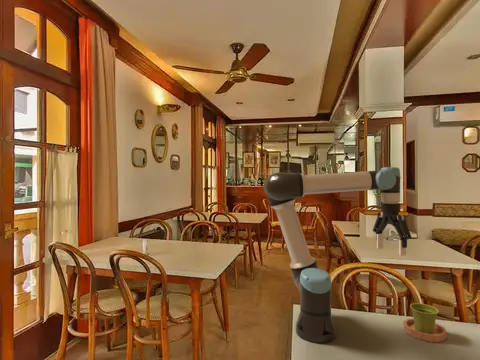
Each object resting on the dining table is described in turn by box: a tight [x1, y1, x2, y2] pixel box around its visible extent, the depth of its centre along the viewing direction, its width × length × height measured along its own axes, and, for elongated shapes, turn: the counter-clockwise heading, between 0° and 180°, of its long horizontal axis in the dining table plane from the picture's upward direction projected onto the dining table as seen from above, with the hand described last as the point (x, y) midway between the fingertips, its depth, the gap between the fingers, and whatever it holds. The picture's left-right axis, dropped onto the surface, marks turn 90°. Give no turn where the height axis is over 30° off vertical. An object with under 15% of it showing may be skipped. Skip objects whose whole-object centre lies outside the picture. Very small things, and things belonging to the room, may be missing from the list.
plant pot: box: [409, 303, 440, 334], centre depth 114 cm, size 9×9×9 cm
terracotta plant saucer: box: [402, 317, 448, 343], centre depth 114 cm, size 14×14×2 cm
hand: (390, 251), depth 127 cm, fingers open, 13 cm apart
